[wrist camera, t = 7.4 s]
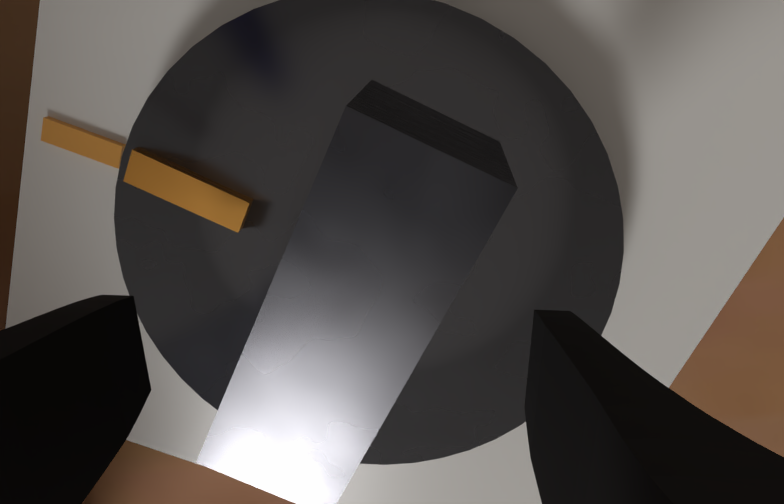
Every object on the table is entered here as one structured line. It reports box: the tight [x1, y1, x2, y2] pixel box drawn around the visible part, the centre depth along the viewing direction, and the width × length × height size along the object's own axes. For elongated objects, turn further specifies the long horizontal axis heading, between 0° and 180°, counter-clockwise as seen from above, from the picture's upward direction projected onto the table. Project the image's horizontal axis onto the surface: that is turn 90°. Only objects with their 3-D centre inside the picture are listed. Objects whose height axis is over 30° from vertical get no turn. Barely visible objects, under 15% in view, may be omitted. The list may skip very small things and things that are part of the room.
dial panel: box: [5, 0, 784, 504], centre depth 16 cm, size 18×18×2 cm
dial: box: [114, 0, 624, 504], centre depth 13 cm, size 12×12×4 cm
